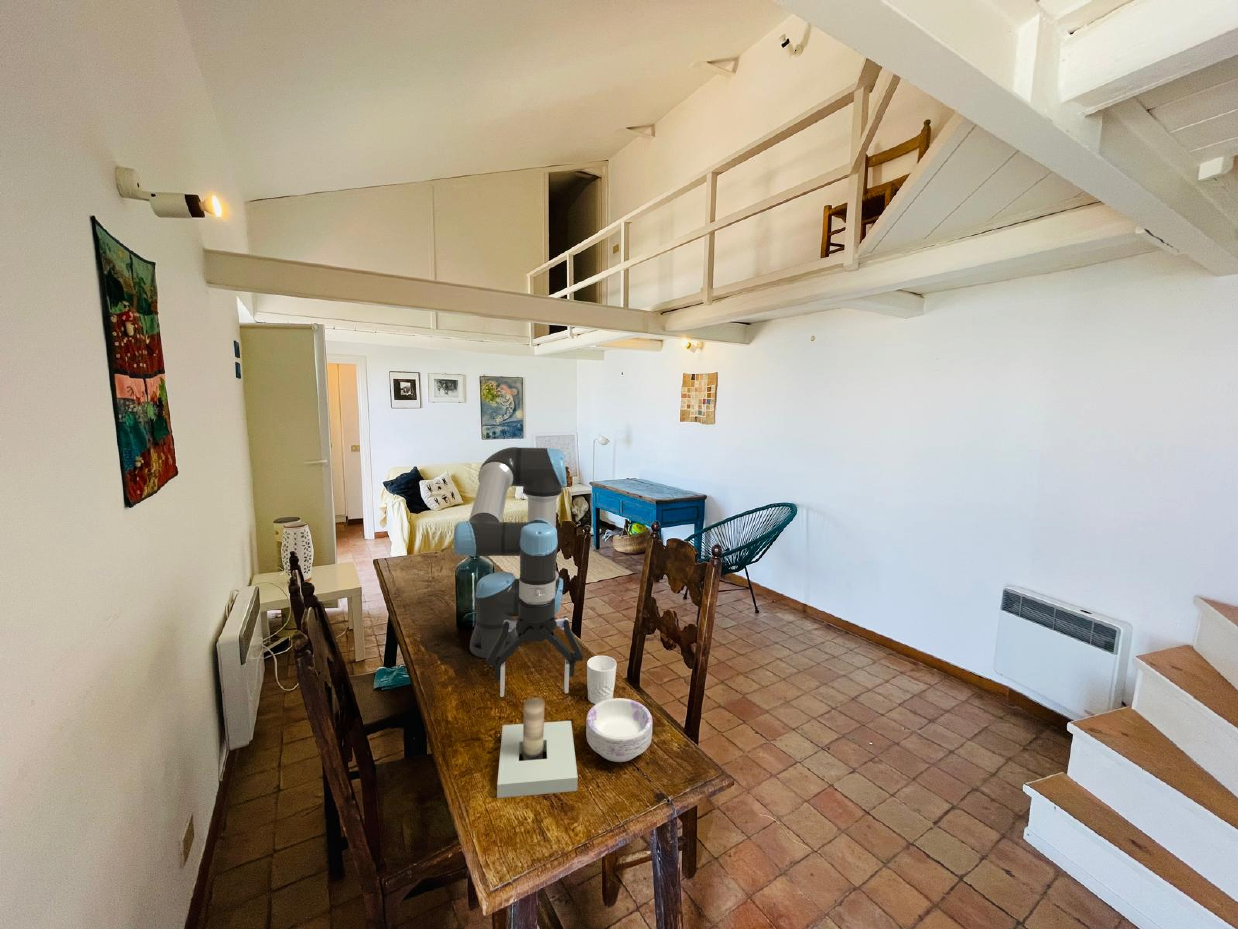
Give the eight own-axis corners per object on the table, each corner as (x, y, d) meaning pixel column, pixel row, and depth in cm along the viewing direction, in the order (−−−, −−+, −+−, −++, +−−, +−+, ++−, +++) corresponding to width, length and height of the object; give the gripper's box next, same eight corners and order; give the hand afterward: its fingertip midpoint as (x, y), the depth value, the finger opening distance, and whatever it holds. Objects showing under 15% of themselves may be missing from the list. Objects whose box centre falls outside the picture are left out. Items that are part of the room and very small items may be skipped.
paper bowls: (574, 737, 117) (575, 706, 116) (629, 719, 124) (631, 690, 123) (604, 782, 104) (606, 747, 103) (663, 759, 111) (665, 726, 110)
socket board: (502, 737, 116) (502, 725, 115) (570, 732, 119) (571, 720, 118) (497, 798, 98) (497, 784, 98) (577, 790, 101) (577, 777, 101)
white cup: (601, 685, 138) (602, 652, 137) (620, 698, 133) (622, 664, 132) (579, 696, 133) (581, 662, 132) (599, 710, 127) (600, 674, 126)
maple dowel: (522, 755, 110) (523, 698, 108) (542, 754, 111) (544, 696, 109) (521, 771, 106) (523, 711, 104) (543, 769, 106) (545, 710, 105)
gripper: (473, 607, 97) (472, 705, 101) (598, 604, 102) (594, 698, 105) (477, 592, 105) (476, 684, 108) (594, 589, 109) (590, 678, 112)
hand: (534, 691), depth 106 cm, fingers open, 13 cm apart
